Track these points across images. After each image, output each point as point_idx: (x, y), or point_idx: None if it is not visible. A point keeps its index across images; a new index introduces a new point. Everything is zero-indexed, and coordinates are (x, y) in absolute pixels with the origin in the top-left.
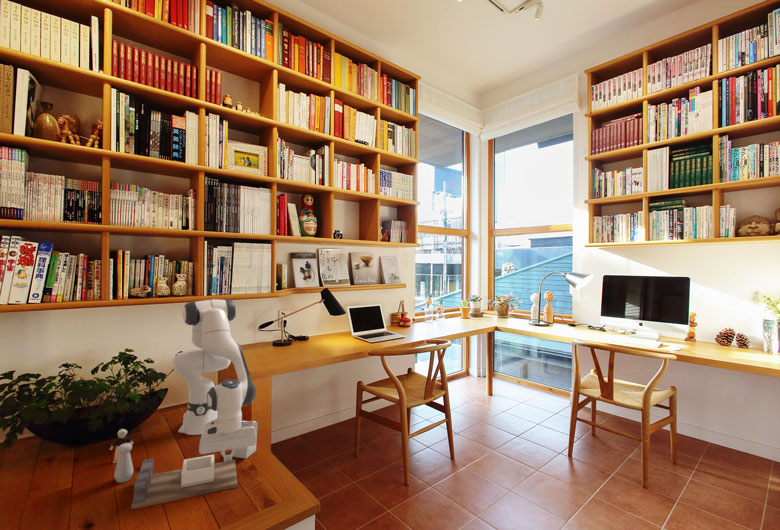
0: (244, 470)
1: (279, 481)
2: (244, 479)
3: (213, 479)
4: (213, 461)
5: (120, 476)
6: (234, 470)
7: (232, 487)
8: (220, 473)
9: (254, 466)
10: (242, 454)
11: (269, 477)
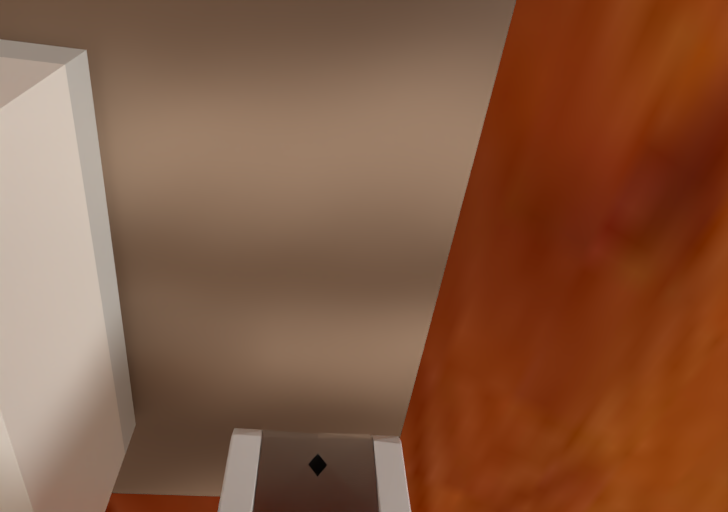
0: (559, 211)
1: (714, 507)
2: (481, 385)
3: (124, 445)
4: (4, 480)
5: None
6: (418, 281)
7: None
8: (218, 276)
9: (721, 171)
10: None
11: (693, 439)
